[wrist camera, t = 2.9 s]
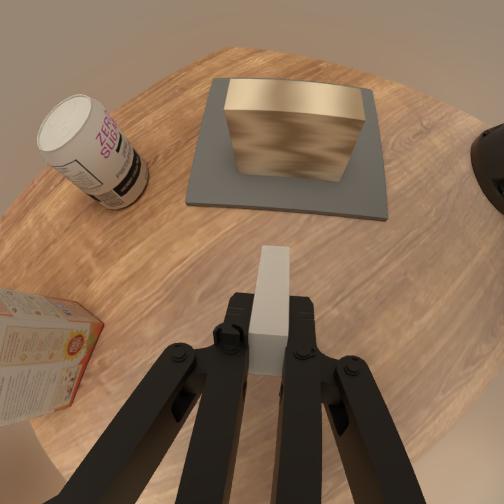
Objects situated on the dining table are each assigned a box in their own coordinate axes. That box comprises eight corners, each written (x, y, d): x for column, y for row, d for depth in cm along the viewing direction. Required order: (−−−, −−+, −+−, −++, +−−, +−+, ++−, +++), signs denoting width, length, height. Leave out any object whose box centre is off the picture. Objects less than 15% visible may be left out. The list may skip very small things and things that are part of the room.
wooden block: (338, 152, 34) (360, 87, 23) (339, 181, 34) (365, 120, 22) (242, 145, 36) (230, 77, 24) (238, 174, 35) (223, 109, 23)
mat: (370, 94, 38) (372, 89, 37) (385, 221, 33) (388, 218, 32) (214, 82, 40) (213, 78, 39) (187, 205, 35) (185, 202, 34)
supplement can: (92, 179, 38) (31, 123, 23) (138, 147, 38) (89, 78, 23) (107, 222, 36) (35, 172, 21) (159, 188, 36) (104, 119, 22)
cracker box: (75, 299, 34) (-55, 269, 13) (106, 324, 33) (-34, 311, 12) (43, 381, 31) (-72, 393, 11) (71, 407, 30) (-47, 439, 10)
